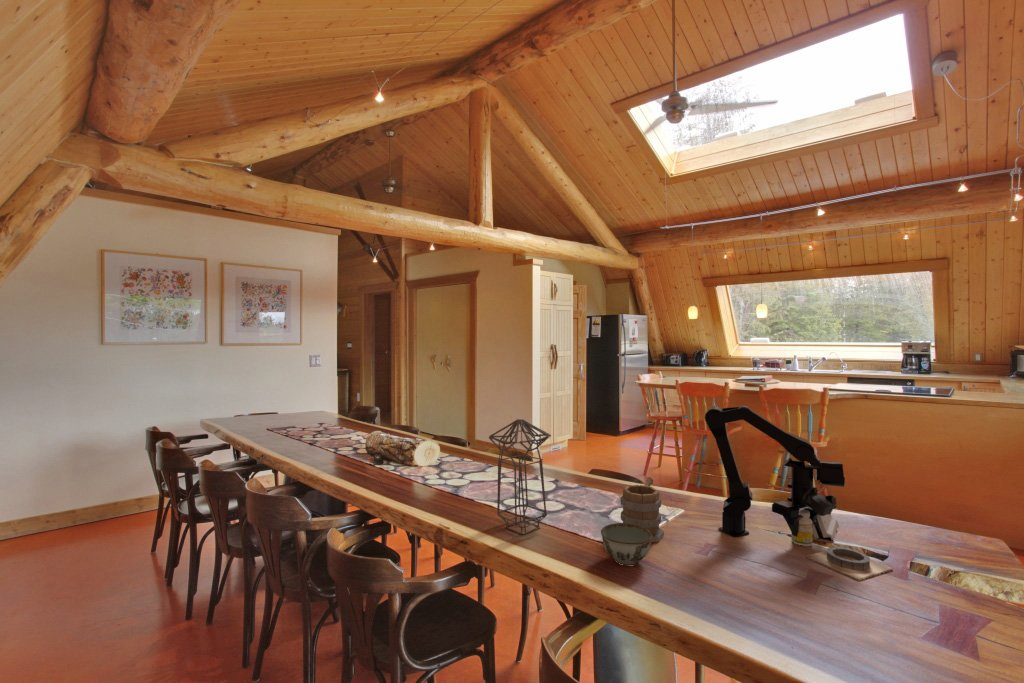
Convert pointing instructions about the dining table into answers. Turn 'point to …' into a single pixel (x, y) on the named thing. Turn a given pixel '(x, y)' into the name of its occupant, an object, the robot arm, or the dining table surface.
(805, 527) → the supplement bottle
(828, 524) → the grey piece
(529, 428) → the geometric lantern
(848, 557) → the ring holder
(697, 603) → the dining table surface
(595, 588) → the dining table surface
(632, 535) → the bowl
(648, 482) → the tankard
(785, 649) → the dining table surface
